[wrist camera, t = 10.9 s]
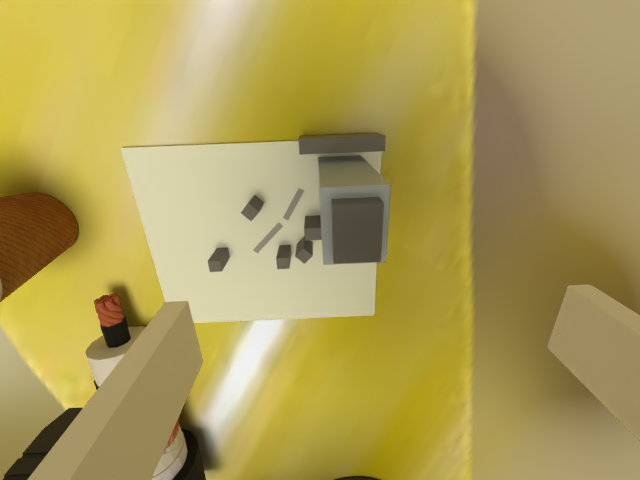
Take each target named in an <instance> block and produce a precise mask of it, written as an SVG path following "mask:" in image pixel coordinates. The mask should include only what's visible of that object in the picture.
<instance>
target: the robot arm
mask: <svg viewBox="0 0 640 480" xmlns="http://www.w3.org/2000/svg"><path fill="white" fill-rule="evenodd" d="M547 348H548V349H549V350H550V351H551V352H552V353H553V354H554V355H555V356H556V357H557V358H558V359H559V360H560V361H561V362H562V363H563V364H564V365H565V366H566V367H567V368H568V369H569V370H570V371H571V372H572V373H573V374H574V375H575V376H576V377H577V378H578V379H579V380H580V381H581V382H582V383H583V384H584V385H585V386H586V387H587V388H588V389H589V390H590V391H591V392H592V393H593V394H594V395H595V396H596V397H597V398H598V399H599V400H600V401H601V402H602V403H603V404H604V405H605V406H606V407H607V408H608V409H609V410H610V411H611V412H612V413H613V414H614V415H615V416H616V418H617V419H619V421H620V422H621V423H622V424H623V425H624V426H625V427H626V428H627V429H628V430H629V431H630V432H631V433H632V434H633V435H634V436H635V437H636V438H637V439H638V440H639V441H640V315H638V314H636V313H635V312H633V311H632V310H630V309H628V308H627V307H625V306H624V305H622V304H620V303H619V302H617V301H615V300H614V299H612V298H611V297H609V296H607V295H606V294H604V293H603V292H601V291H599V290H598V289H596V288H595V287H593V286H591V285H569V286H568V288H567V291H566V293H565V296H564V299H563V302H562V305H561V308H560V311H559V314H558V317H557V320H556V323H555V326H554V329H553V332H552V335H551V337H550V340H549V343H548V347H547ZM202 363H203V359H202V355H201V351H200V347H199V343H198V339H197V335H196V331H195V327H194V323H193V319H192V315H191V311H190V307H189V303H188V301H173V302H165V303H164V305H163V306H162V307H161V308H160V310H159V311H158V312H157V314H156V315H155V316H154V317H153V319H152V320H151V321H150V323H149V324H148V325H147V326H146V328H145V329H144V330H143V332H142V333H141V334H140V335H139V337H138V338H137V339H136V341H135V342H134V343H133V345H132V346H131V347H130V348H129V350H128V351H127V352H126V354H125V355H124V356H123V357H122V359H121V360H120V361H119V363H118V364H117V365H116V366H115V368H114V369H113V370H112V372H111V373H110V374H109V375H108V377H107V378H106V379H105V381H104V382H103V383H102V384H101V386H100V387H99V388H98V390H97V391H96V392H95V393H94V395H93V396H92V397H91V399H90V400H89V401H88V402H87V404H86V405H85V406H84V408H69V409H68V410H66V411H65V412H64V413H63V414H62V415H60V416H59V417H58V418H57V419H55V420H54V421H53V422H51V423H50V424H49V425H48V426H47V427H45V428H44V429H43V430H42V431H41V433H40V434H39V435H38V436H37V437H36V438H35V440H34V441H33V442H32V443H31V444H30V445H29V447H28V448H27V449H26V450H25V452H23V456H22V458H19V459H18V460H17V461H16V462H15V463H14V464H13V466H12V467H11V468H10V469H9V470H8V471H7V473H6V474H5V475H4V479H3V480H151V479H152V477H153V474H154V472H155V470H156V467H157V465H158V463H159V461H160V458H161V456H162V454H163V452H164V449H165V447H166V445H167V443H168V440H169V438H170V436H171V433H172V431H173V429H174V427H175V424H176V422H177V420H178V418H179V415H180V413H181V411H182V408H183V406H184V404H185V402H186V399H187V397H188V395H189V393H190V390H191V388H192V386H193V384H194V381H195V379H196V377H197V374H198V372H199V370H200V368H201V365H202ZM340 480H375V479H371V478H362V477H354V478H345V479H340Z"/></svg>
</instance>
